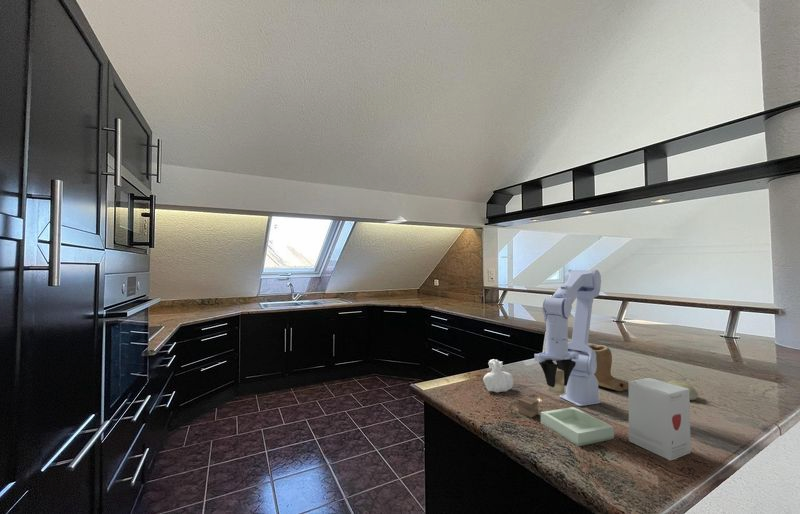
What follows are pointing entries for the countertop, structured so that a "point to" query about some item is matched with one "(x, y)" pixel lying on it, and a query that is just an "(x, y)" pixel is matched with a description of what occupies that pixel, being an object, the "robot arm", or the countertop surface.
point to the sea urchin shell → (692, 391)
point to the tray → (577, 426)
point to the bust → (497, 378)
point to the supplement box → (659, 417)
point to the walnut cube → (528, 406)
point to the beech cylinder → (558, 383)
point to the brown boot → (606, 369)
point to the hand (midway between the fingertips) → (556, 385)
